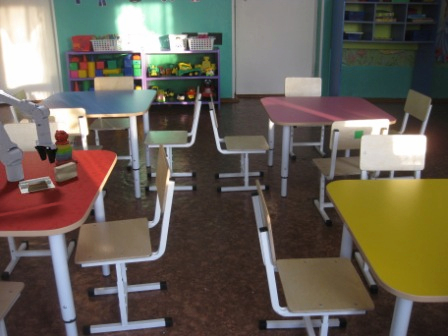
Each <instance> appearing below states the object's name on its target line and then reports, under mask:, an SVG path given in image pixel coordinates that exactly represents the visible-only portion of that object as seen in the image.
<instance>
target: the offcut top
mask: <svg viewBox="0 0 448 336" xmlns="http://www.w3.org/2000/svg"><path fill="white" fill-rule="evenodd" d="M28 185H29V188H35V187H40V186H46V181H45V180H44V181H38V182H32V183H28Z"/></svg>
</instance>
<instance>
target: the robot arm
mask: <svg viewBox="0 0 448 336" xmlns="http://www.w3.org/2000/svg"><path fill="white" fill-rule="evenodd" d="M1 102H2V103H5V104H7V105H9V106H10V105H11V106H13V107H16V108H17V109H18V112H21V113H24V114H26V115H28V116H29V117H30V116H31V117H32V120H33V121H34V124H35V129H36V135H37V140H35V146H34V149H35V150H36V151H37V153H38V156H39V158H40V160H41V161H42V162H43V161H47V159H48V163H49V164H56V158H55V157H56V153H57V150H58V148H57V147H56V145H55V142H53V141H52V134H51V127H50V121H49V117H50V115H51V110H50V108H49V107H48V106H47V105H45V104H42V105H40V104H38V103H34V102H32V101H30V99H28V98H25V99H19V98H17V97H15V96H13V95H11V94H9V93H7V92H5V91H4V90H3V89H0V103H1ZM24 155H25V154H24V151H23V150H22V149H21V148H20V146H18V144H17V143H16V142H14V141H12V139H11V138H10V136H9V134H8V132H7V130H6V129H5V127H4V124H3V122H1V120H0V163H2V164H3V165H4V167H5V173H6V178H7V179H6V180H7V181H8V182H11V183H12V182H21V181H23V180H24V179H25V175H24V168H23V158H24V157H25V156H24Z"/></svg>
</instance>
